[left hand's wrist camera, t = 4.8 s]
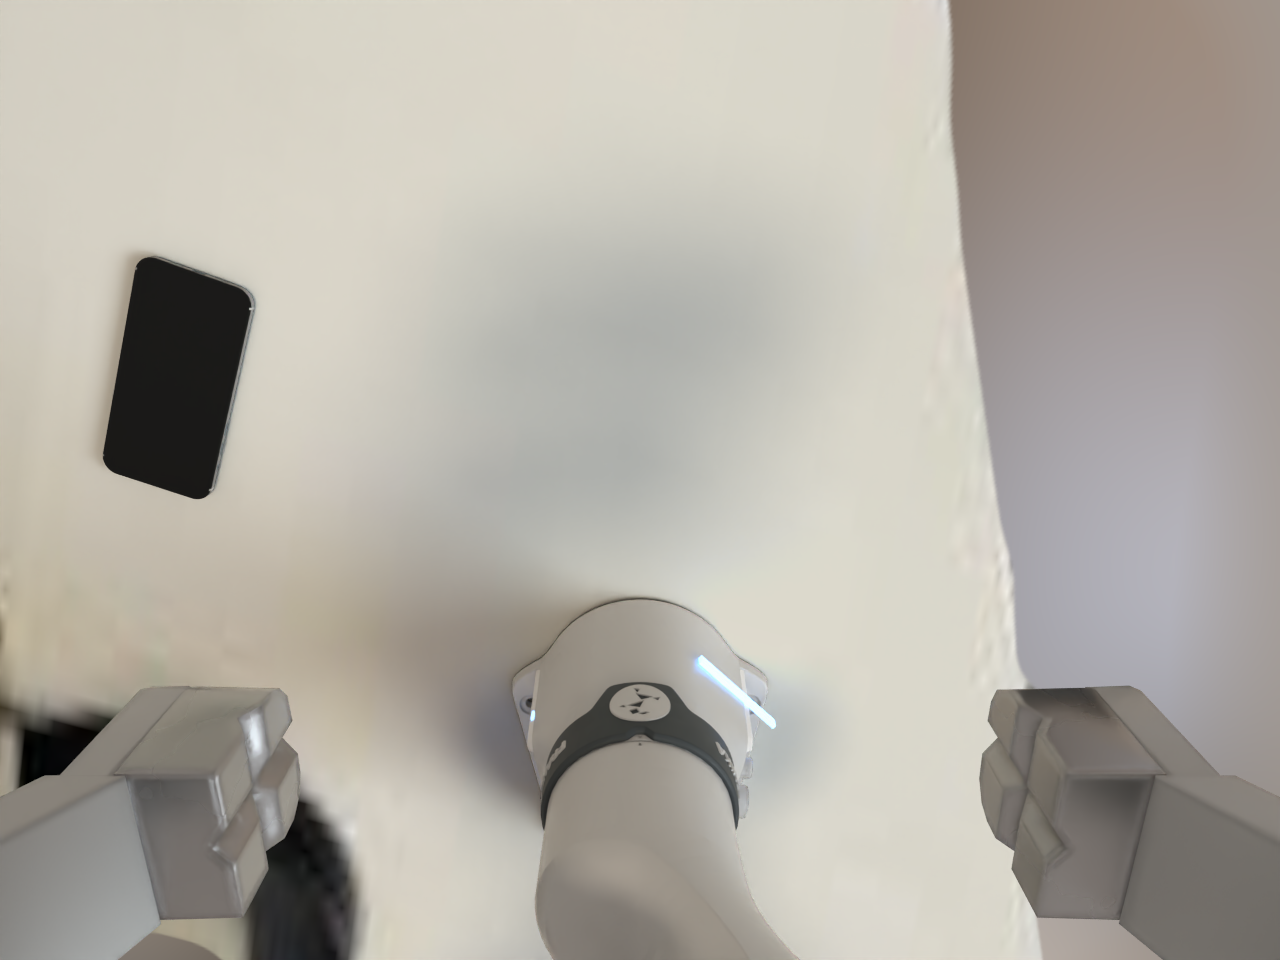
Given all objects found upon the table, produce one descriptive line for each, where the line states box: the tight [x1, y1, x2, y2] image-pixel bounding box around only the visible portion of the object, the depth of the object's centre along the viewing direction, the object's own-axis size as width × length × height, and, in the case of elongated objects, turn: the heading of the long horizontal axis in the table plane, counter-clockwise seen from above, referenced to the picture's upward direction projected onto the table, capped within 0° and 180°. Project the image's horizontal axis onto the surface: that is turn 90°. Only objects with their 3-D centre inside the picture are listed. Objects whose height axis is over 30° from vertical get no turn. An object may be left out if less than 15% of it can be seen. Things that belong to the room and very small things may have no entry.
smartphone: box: [103, 257, 254, 499], centre depth 57 cm, size 7×1×15 cm
